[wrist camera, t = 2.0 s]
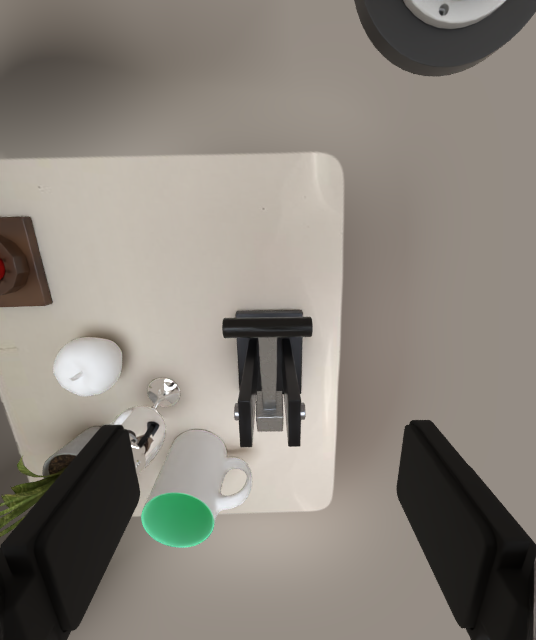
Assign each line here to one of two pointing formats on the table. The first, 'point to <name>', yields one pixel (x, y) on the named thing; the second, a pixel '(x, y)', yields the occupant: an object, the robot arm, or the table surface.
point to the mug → (191, 490)
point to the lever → (268, 359)
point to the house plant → (52, 470)
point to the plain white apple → (88, 365)
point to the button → (2, 269)
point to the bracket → (286, 379)
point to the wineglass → (148, 422)
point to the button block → (21, 265)
